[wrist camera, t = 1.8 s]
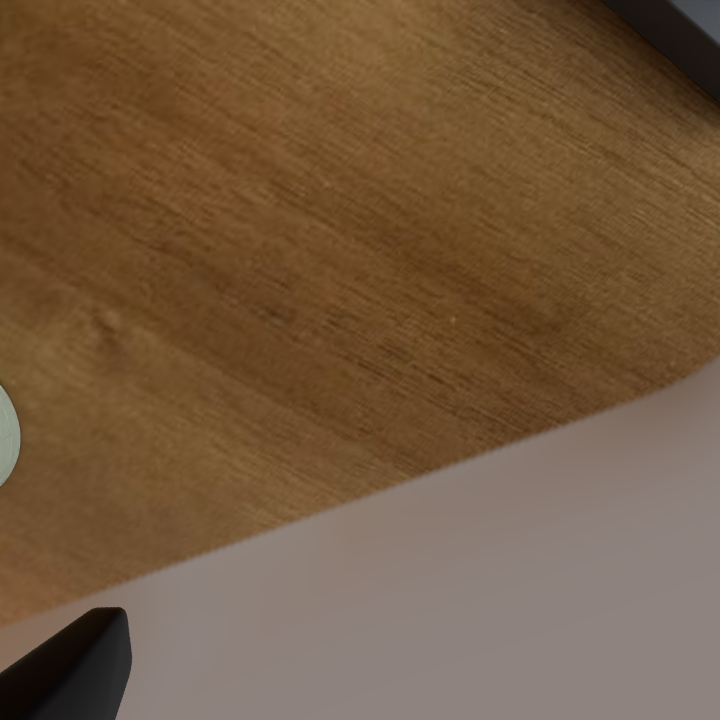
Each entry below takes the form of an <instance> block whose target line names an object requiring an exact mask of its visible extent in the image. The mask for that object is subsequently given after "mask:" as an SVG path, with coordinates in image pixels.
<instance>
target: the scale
mask: <svg viewBox="0 0 720 720" xmlns="http://www.w3.org/2000/svg"><path fill="white" fill-rule="evenodd" d="M602 1H603V2H604V3H605V4H606V5H607V6H609V7H610V8H611V9H612V10H613V11H614V12H616V13H617V14H618V15H619V16H620V17H621V18H622V19H624V20H625V21H626V22H627V23H628V24H629V25H631V26H632V27H633V28H634V29H635V30H636V31H637V32H639V33H640V34H641V35H642V36H643V37H644V38H646V39H647V40H648V41H649V42H650V43H651V44H652V45H654V46H655V47H656V48H657V49H658V50H659V51H661V52H662V53H663V54H664V55H665V56H666V57H668V58H669V59H670V60H671V61H672V62H673V63H674V64H676V65H677V66H678V67H679V68H680V69H681V70H683V71H684V72H685V73H686V74H687V75H688V76H689V77H691V78H692V79H693V80H694V81H695V82H696V83H698V84H699V85H700V86H701V87H702V88H703V89H704V90H706V91H707V92H708V93H709V94H710V95H711V96H713V97H714V98H715V99H716V100H717V101H718V102H719V103H720V0H602Z"/></svg>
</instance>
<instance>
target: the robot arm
mask: <svg viewBox="0 0 720 720" xmlns="http://www.w3.org/2000/svg"><path fill="white" fill-rule="evenodd" d="M131 664H132V652H131V644H130V637H129V627H128V619H127V614H126V612H125V610H124V609H122V608H120V607H104V608H103V607H102V608H94V609H91V610H90V611H88V612H87V613H85V614H84V615H83V616H81V617H79V618H78V619H77V620H75V621H74V622H72V623H71V624H69V625H68V626H67V627H65V628H64V629H62V630H61V631H59V632H58V633H57V634H55V635H54V636H52V637H51V638H49V639H48V640H47V641H45V642H44V643H42V644H41V645H39V646H38V647H37V648H35V649H34V650H32V651H31V652H30V653H28V654H27V655H25V656H24V657H22V658H21V659H20V660H18V661H17V662H15V663H14V664H12V665H11V666H10V667H8V668H7V669H5V670H4V671H3V672H1V673H0V720H115V718H116V715H117V712H118V709H119V706H120V703H121V700H122V697H123V694H124V691H125V688H126V684H127V681H128V678H129V674H130V670H131Z"/></svg>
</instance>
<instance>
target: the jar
mask: <svg viewBox="0 0 720 720" xmlns="http://www.w3.org/2000/svg"><path fill="white" fill-rule="evenodd" d="M19 450H20V427H19V421H18V418H17V414H16V411H15V409H14V407H13V404H12V402H11V400H10V398H9V397H8V395H7V393H6V392H5V390H4V389H3V387H2V386H1V385H0V486H1V485H2V484H3V483H4V482H5V481H6V480H7V478H8V477H9V475H10V474H11V472H12V470H13V468H14V466H15V464H16V462H17V458H18V455H19Z"/></svg>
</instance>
